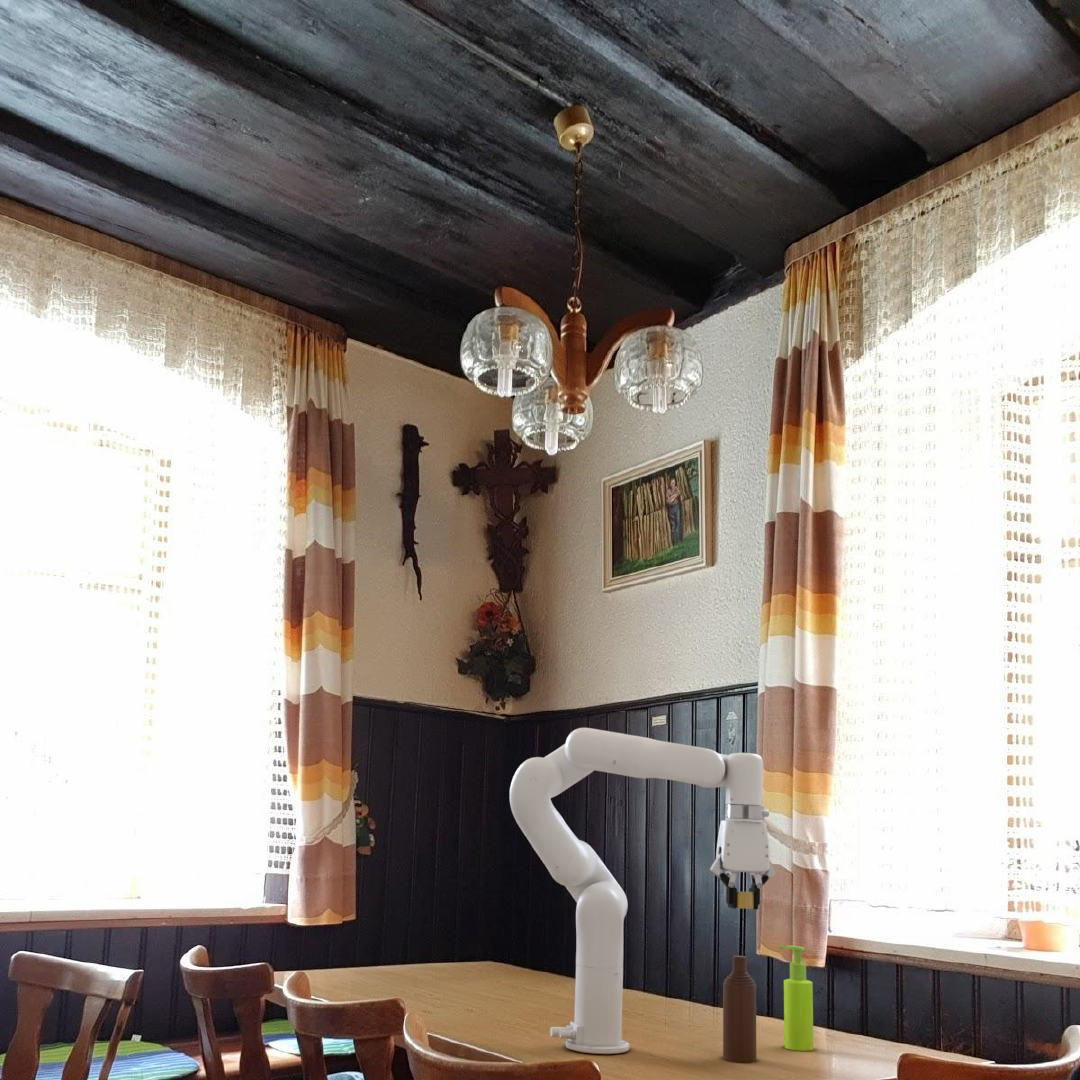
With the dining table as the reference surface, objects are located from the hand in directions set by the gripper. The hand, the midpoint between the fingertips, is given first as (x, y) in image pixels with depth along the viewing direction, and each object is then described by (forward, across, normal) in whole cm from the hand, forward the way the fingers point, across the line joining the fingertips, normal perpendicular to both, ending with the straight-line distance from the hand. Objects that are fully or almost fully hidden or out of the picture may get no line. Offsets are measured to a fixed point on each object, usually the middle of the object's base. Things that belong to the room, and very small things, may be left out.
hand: (742, 907), depth 235 cm
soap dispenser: (+28, -17, -12) cm, 35 cm away
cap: (0, 0, 0) cm, 0 cm away
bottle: (+28, 0, 0) cm, 28 cm away
